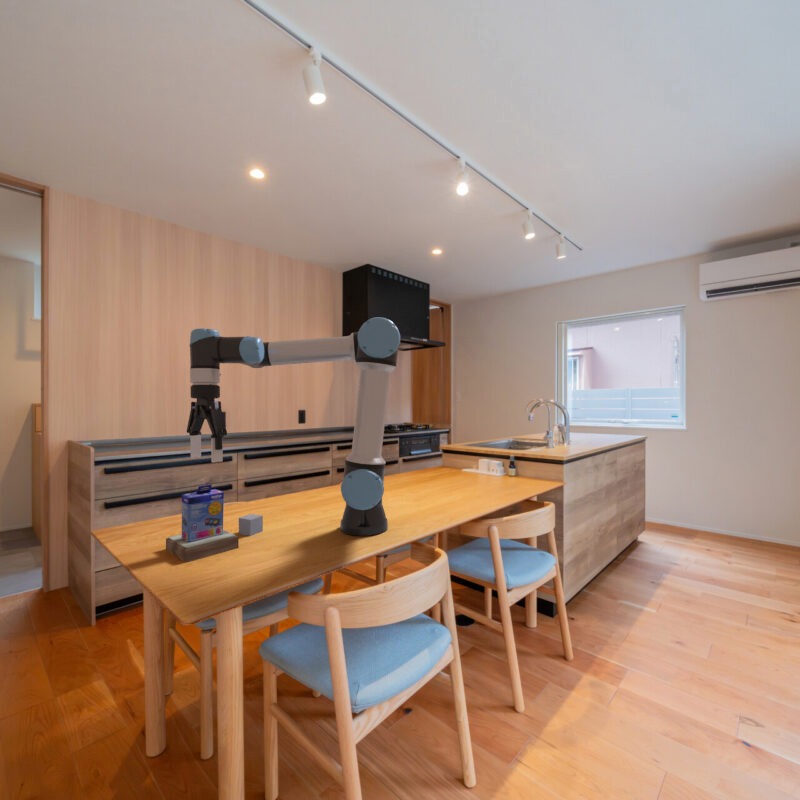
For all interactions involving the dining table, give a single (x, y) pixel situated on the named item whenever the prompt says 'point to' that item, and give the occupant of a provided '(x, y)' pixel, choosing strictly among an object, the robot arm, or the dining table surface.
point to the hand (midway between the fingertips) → (206, 459)
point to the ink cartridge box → (202, 514)
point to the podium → (201, 546)
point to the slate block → (250, 524)
